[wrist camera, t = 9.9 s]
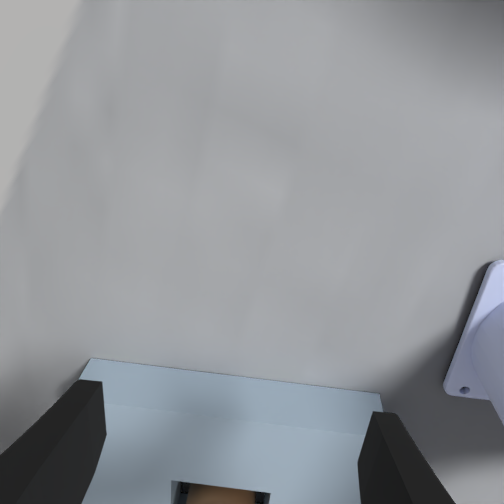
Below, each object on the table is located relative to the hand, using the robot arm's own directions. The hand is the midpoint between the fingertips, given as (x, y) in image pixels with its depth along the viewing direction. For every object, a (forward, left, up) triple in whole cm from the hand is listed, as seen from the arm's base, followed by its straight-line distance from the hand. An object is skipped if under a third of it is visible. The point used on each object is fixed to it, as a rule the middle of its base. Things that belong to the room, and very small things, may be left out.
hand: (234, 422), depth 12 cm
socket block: (+1, +16, -10) cm, 19 cm away
